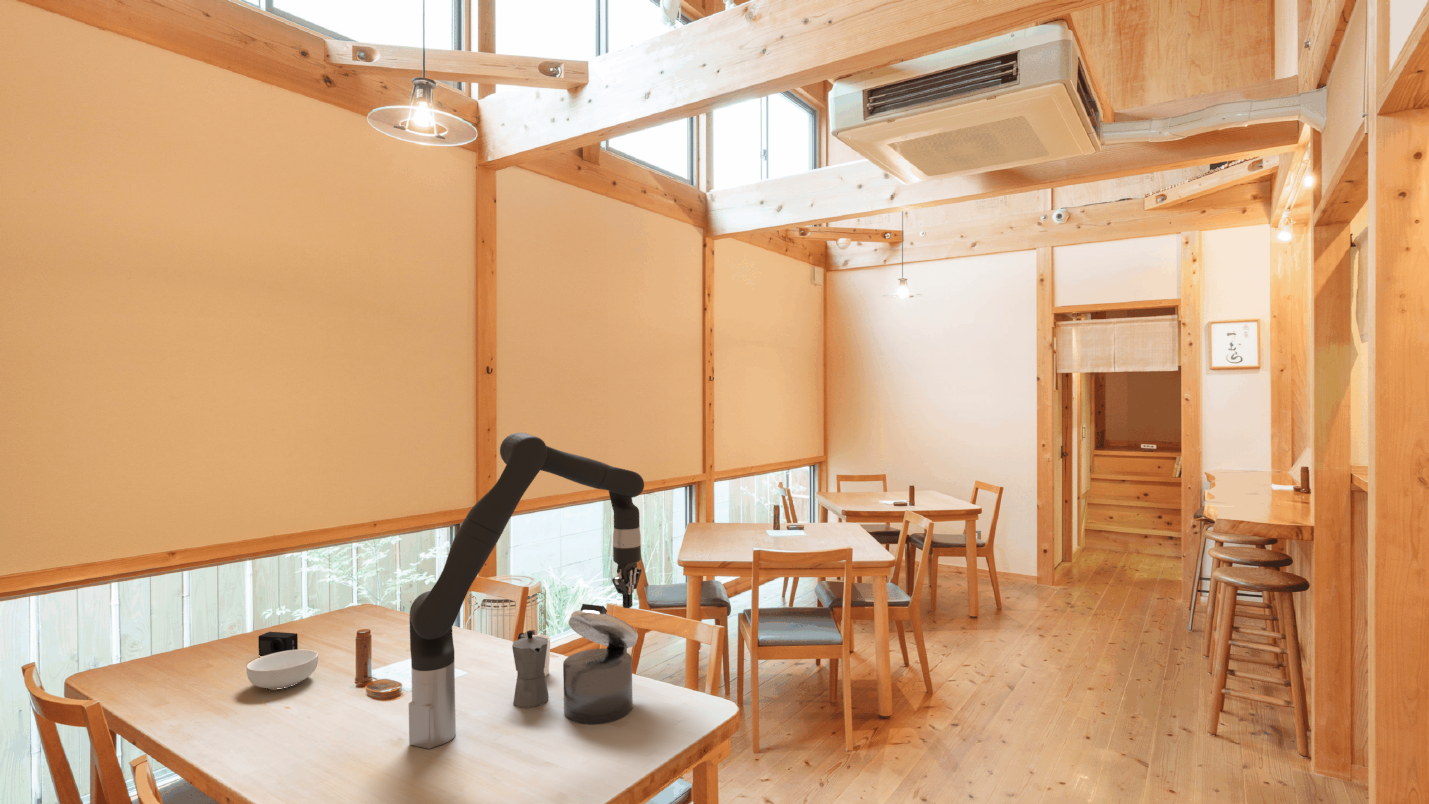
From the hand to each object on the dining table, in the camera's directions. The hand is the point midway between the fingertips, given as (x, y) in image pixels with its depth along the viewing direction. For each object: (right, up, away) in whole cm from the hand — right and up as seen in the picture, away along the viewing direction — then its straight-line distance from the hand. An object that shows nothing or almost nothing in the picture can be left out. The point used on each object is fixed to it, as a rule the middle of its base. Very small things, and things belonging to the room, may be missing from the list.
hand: (627, 607), depth 188 cm
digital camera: (-111, -23, +24) cm, 116 cm away
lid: (-5, -3, -13) cm, 14 cm away
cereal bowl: (-96, -23, +3) cm, 99 cm away
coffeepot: (-24, -21, -9) cm, 34 cm away
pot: (-5, -21, -15) cm, 26 cm away
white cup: (-27, -21, +7) cm, 35 cm away
